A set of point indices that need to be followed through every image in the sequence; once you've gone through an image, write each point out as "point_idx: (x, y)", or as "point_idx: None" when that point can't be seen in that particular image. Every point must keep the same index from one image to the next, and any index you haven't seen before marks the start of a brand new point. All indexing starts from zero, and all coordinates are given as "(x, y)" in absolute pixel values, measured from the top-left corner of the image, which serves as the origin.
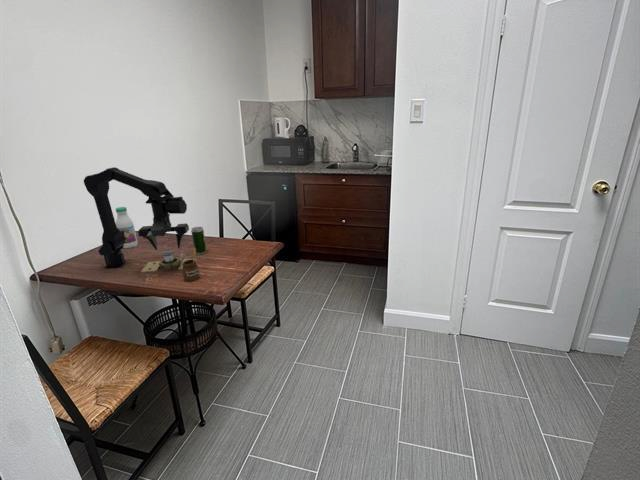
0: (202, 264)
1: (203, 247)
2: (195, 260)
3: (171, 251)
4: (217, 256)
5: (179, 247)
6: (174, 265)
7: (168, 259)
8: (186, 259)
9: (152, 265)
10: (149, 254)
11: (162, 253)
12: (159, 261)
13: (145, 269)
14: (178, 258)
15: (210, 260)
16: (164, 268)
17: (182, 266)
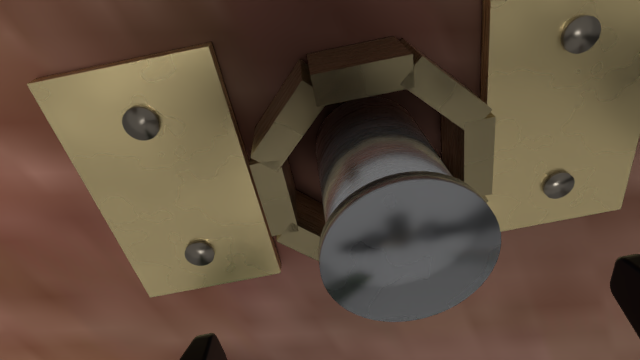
0: (20, 195)
1: None
2: (141, 257)
3: (359, 286)
4: (12, 348)
5: (193, 356)
6: (281, 101)
7: (367, 150)
8: (254, 272)
9: (567, 132)
10: (634, 343)
11: (483, 213)
12: (515, 223)
13: (632, 17)
14: (299, 244)
15: (10, 279)
16: (393, 43)
17: (193, 114)
